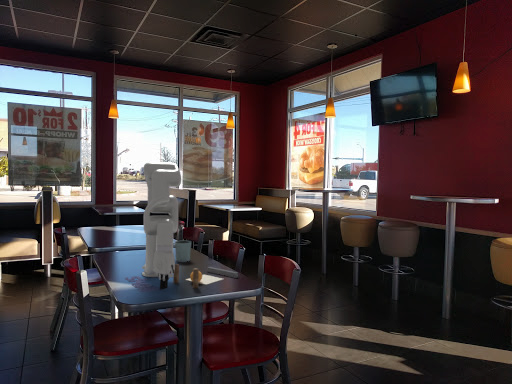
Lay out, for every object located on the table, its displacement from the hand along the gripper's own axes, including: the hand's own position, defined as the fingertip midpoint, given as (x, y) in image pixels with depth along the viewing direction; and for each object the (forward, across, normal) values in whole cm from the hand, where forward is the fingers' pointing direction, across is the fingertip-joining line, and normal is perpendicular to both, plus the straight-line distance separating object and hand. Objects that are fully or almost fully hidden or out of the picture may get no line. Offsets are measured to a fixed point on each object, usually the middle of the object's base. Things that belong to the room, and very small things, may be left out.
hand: (163, 288), depth 176 cm
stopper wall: (+2, 0, +42) cm, 42 cm away
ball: (-2, 0, +21) cm, 21 cm away
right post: (+2, +6, +14) cm, 16 cm away
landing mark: (+2, 0, +28) cm, 28 cm away
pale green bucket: (+2, -41, +53) cm, 67 cm away
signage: (+2, -18, +2) cm, 19 cm away
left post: (+2, -6, +14) cm, 16 cm away
